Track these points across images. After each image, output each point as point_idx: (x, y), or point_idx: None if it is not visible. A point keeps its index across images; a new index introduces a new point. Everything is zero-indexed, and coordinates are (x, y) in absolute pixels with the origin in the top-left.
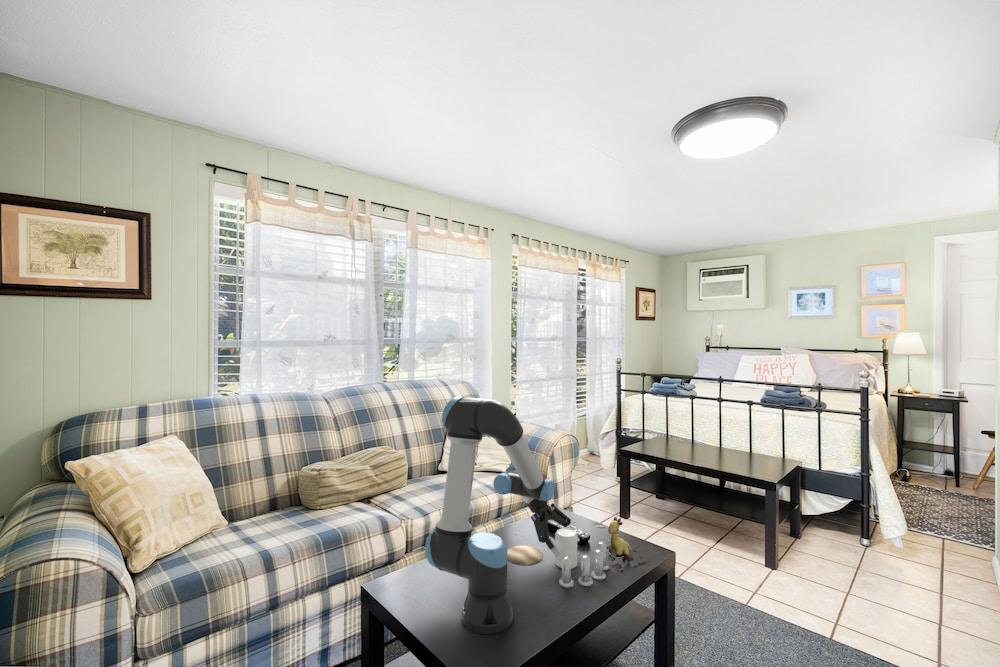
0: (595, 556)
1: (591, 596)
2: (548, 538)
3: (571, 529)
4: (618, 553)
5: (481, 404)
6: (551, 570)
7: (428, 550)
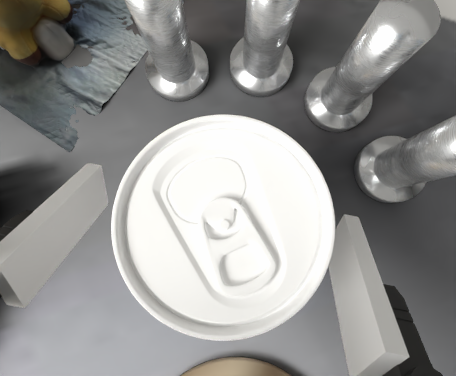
0: (298, 2)
1: (415, 58)
2: (432, 369)
3: (123, 188)
4: (66, 3)
5: None
6: None
7: None
